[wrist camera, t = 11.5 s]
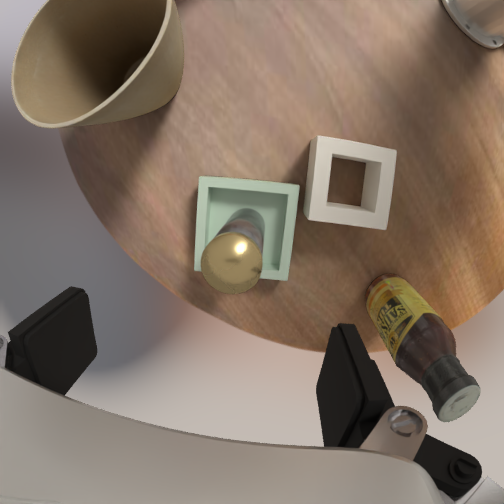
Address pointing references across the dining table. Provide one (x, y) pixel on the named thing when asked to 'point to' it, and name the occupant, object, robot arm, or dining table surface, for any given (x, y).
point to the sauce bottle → (421, 345)
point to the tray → (259, 199)
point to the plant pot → (97, 61)
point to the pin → (235, 253)
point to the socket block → (374, 186)
